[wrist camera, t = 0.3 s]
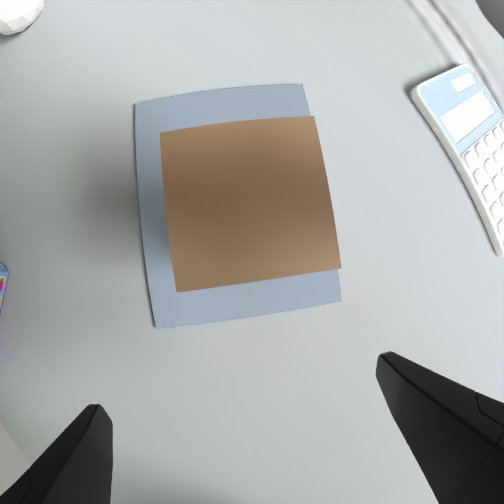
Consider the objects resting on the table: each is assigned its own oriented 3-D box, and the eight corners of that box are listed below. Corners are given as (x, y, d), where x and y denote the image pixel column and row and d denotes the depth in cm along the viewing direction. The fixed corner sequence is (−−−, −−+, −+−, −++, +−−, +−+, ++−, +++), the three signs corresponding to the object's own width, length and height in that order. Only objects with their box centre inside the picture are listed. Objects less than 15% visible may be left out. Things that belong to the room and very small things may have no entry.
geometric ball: (49, 26, 24) (55, -4, 18) (-4, 54, 21) (-9, 27, 15) (36, -9, 20) (42, -41, 14) (-14, 17, 17) (-19, -13, 11)
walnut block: (277, 263, 22) (341, 268, 9) (207, 273, 22) (176, 292, 9) (266, 195, 22) (313, 116, 9) (198, 204, 22) (159, 132, 9)
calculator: (495, 261, 25) (507, 261, 23) (403, 94, 24) (412, 85, 22) (536, 203, 26) (546, 201, 24) (460, 66, 25) (469, 59, 23)
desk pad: (340, 300, 23) (341, 301, 22) (157, 328, 22) (156, 328, 21) (301, 85, 23) (302, 83, 23) (136, 105, 22) (135, 103, 22)
